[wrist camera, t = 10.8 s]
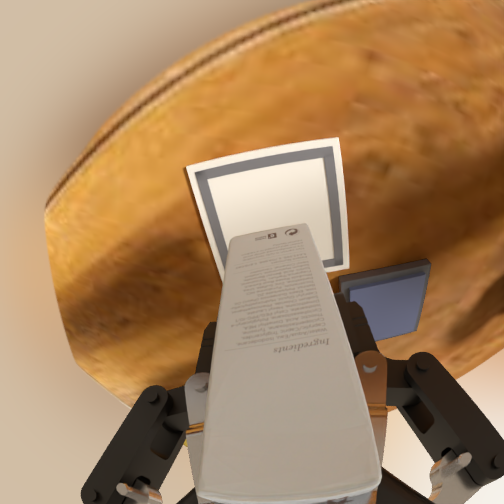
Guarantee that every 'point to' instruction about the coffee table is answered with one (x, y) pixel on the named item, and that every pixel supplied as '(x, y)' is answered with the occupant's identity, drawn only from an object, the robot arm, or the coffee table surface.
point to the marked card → (275, 196)
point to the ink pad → (389, 296)
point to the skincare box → (283, 383)
